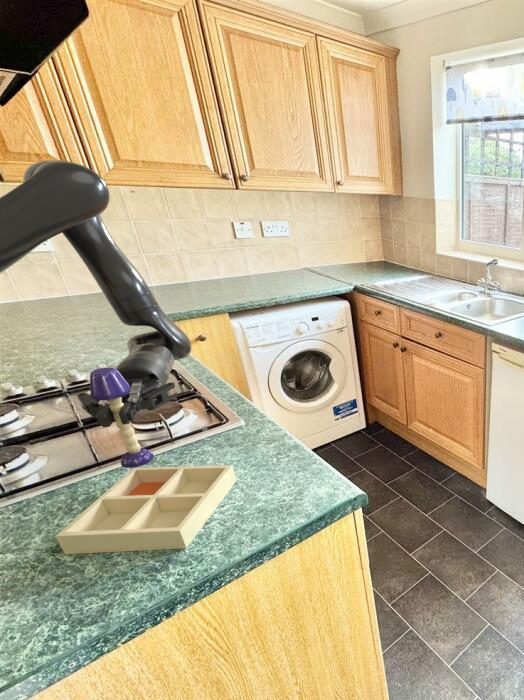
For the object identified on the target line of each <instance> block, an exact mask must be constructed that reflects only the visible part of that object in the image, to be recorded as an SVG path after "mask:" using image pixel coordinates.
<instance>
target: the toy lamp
mask: <svg viewBox="0 0 524 700" xmlns="http://www.w3.org/2000/svg"><path fill="white" fill-rule="evenodd" d="M89 391H90V393H89V394H91V397H92V398H93V399H95V400H100V401H103V400H107V402H108V403H109V404H110V410H111V411H112V412H113V418H114V421H116V422H115V425H116V427H117V429H119V435H120V436H121V437H122V441H123V444H125V448H126V452H125V453H124V454H122V456H121V459H120V466H121V467H122V468H125V469H133V468H140V467H143V466H145V465H148V464H149V463H150V462H151V461H153V459H154V458H155V455H154V453H153V452H152V451H151V450H149V449H147V448H143V447H141V445H140V443H139V441H138V440H139V439H138V437H137V436H136V435H135V429H134V427H132V421H131V422H130V424H124V425H123V424H122V422H121V419H120V417H119V412H120V410H121V408H122V407H123V405H124V404H123V403H122V402H121V401H122V398H121V397H122V396H125V395H127V394H128V393H129V392H130V391H131V387H130V386H129V384H128V383H127V382H126V381H125V379H124V378H123V377H122V376H121V374H120V373H119V372H118V371H117V370H116V367H111V366H110V367H109V366H107V367H99V368H96V369H94V370H92V371H91V372H90V373H89Z"/></svg>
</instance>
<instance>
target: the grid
mask: <svg viewBox="0 0 524 700" xmlns="http://www.w3.org/2000/svg"><path fill="white" fill-rule="evenodd" d="M236 482H238V481H237V476H236V473H235V470H234V465H233V464H228V465H227V464H224V465H222V464H221V465H187V466H186V465H185V466H148V467H147V466H145V467H143V466H140V467H135V468H131V469H130V470H129V471H128V472H127V473H126V474H125V475H123V476H122V477H121V478H120V479H119V480H117V482H116V483H114V485H112V486H111V487H110V488H108V490H107V491H105V492H104V493H103V494H102V495H101V496H100V497H98V498H97V499H96V500H95V501H94V502H93V503H91V504H90V505H89V506H88V507H87V508H86V509H85V510H83V511H82V512H81V513H80V514H79V515H77V516H76V517H75V518H74V519H73V520H72V521H70V523H69V524H67V525H66V526H65V527H64V528H62V529H61V531H60V532H58V533H57V534H56V535H55V539H56V540H57V542H58V544H59V546H60V548H61V550H62V551H63V553H64V555H76V554H80V555H81V554H98V553H99V554H101V553H117V552H118V553H120V552H121V553H122V552H139V551H141V552H142V551H143V552H144V551H160V550H161V551H162V550H181V549H182V550H183V549H184V550H185V549H188V547H189V546H190V544H191V543H192V541H193V540H194V539H195V538H196V536H197V535H198V534H199V532H200V531H201V529H202V528H203V527H204V525H205V524H206V523H207V521H209V519H210V517H211V516H212V515H213V513H214V512H215V511H216V509H217V508H218V506H219V505H221V502H222V501H223V500H224V499H225V497H226V496H227V495H228V493H229V492H230V491H231V489H232V488H233V487H234V485H235V484H236Z"/></svg>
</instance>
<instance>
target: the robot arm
mask: <svg viewBox="0 0 524 700" xmlns="http://www.w3.org/2000/svg"><path fill="white" fill-rule="evenodd" d="M110 197H111V196H110V190H109V187H108V185H107V183H106V181H105V180H104V178H102V176H101V175H99V174H98V173H97V172H95V171H94V170H93V169H91V168H89V167H86V166H84V165H82V164H79V163H76V162H72V161H68V160H57V159H55V160H41V161H37V162H34V163H32V164H31V165H29V166H28V167H27V168H26V170H25V171H24V174H23V182H22V183H20V184H19V185H17V186H16V187H14V188H13V189H12V190H10V191H8V192H6V193H5V194H3V195H2V196H0V274H2V273H3V272H5V271H7V270H8V269H9V268H10V267H12V266H14V265H15V264H16V263H18V262H19V261H20V260H22V259H23V258H24V257H26V256H27V255H29V254H30V253H31V252H32V251H33V250H35V249H36V248H38V247H39V246H41V245H42V244H43V243H45V242H47V241H48V240H50V239H52V238H54V237H56V236H57V235H60V234H62V235H63V236H64V237H65V238H66V240H67V242H68V243H69V244H70V245H71V246H72V248H73V249H74V251H75V252H76V253H77V255H78V256H79V258H80V259H81V261H82V262H83V263H84V265H85V266H86V268H87V269H88V271H89V272H90V274H91V276H92V277H93V279H94V280H95V282H96V284H97V286H98V287H99V289H100V290H101V292H102V293H103V295H104V297H105V298H106V300H107V301H108V303H109V305H110V307H111V308H112V309H113V311H114V313H115V314H116V316H117V317H118V319H119V320H120V321H121V323H123V325H125V326H128V327H150V328H152V329H154V330H153V331H148V332H143V333H139V334H136V335H134V336H131V337H130V338H129V339H128V341H127V345H126V347H127V351H128V354H127V356H125V357H124V358H123V359H122V360H121V361H120V363H119V364H118V365H117V366H116V367H115V369H116V370H117V371H118V372H119V373H120V374H121V376H122V377H123V378H124V379H125V381H126V382H127V383H128V384H129V386H130V387H131V391H130V392H129V393H128V394H127V395H125V396H122V397H121V398H122V401H121V402H122V403H123V404H124V405H123V407H122V408H121V410H120V412H119V417H120V419H121V422H122V424H123V425H124V424H130V422H131V423H132V421H134V420H136V419H137V416H138V415H139V414H141V413H143V410H147V411H149V412H150V411H154V410H157V409H159V408H160V407H161V406H163V405H165V404H167V403H168V402H170V401H172V400H173V399H175V398H177V397H179V394H178V390H177V387H176V384H175V382H168V381H169V380H170V374H171V371H172V370H173V367H174V364H175V361H179V360H183V359H185V358H187V357H189V356H190V354H191V352H192V349H193V348H192V346H193V345H192V342H191V339H190V338H189V337H188V335H187V334H186V333H185V332H184V331H183V330H182V329H181V328H180V327H179V326H178V325H177V324H176V323H175V322H174V321H173V320H172V319H171V318H170V317H169V316H168V315H167V313H166V312H164V310H163V309H162V308H161V306H160V304H159V303H158V301H157V299H156V298H155V296H154V294H153V291H152V290H151V288H150V287H149V285H148V284H147V282H146V280H145V278H143V276H142V275H141V273H140V272H139V271H138V269H137V268H136V267H135V266H134V264H133V263H132V262H131V260H129V258H128V257H127V256H126V255H125V253H124V252H123V251H122V250H121V248H120V247H119V246H118V244H117V243H116V241H115V240H114V239H113V237H112V235H111V234H110V232H109V230H108V228H107V227H106V224H105V222H104V221H103V219H102V218H103V217H102V216H101V214H103V213H104V212H105V210H106V209H107V208H108V206H109V203H110ZM76 397H77V399H78V402H79V403H80V406H81V408H82V410H84V412H86V413H87V414H88V415H90V417H92V418H93V419H96V420H97V423H98V425H99V426H102V428H109V427H111V425H112V424H113V422H114V421H115V419H114V418H113V412H112V411H111V410H110V404H109V403H108V402H107V400H102V402H101V400H95V399H93V398H92V397H91V393H87V392H80V393H78V394H77V395H76ZM100 402H101V403H100Z"/></svg>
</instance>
